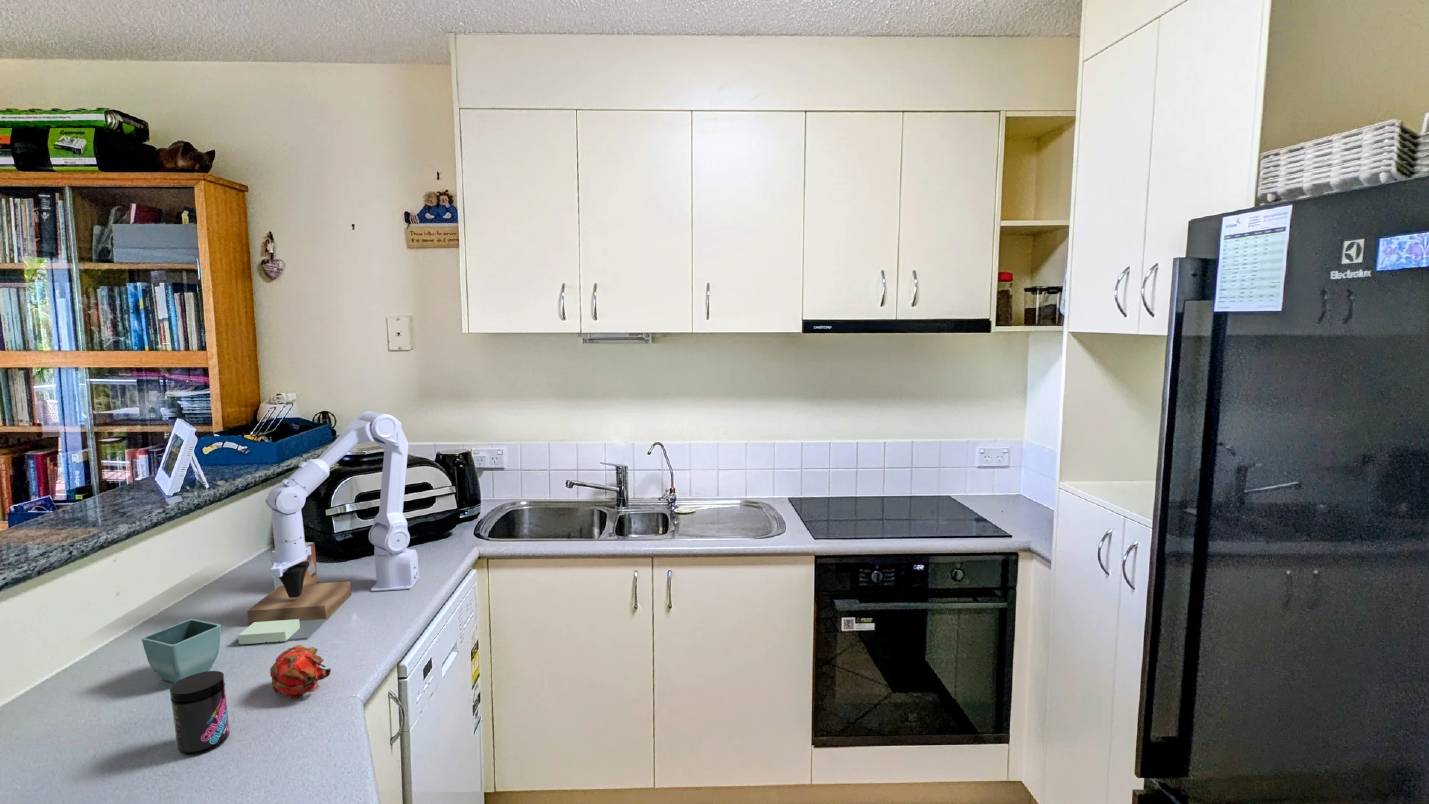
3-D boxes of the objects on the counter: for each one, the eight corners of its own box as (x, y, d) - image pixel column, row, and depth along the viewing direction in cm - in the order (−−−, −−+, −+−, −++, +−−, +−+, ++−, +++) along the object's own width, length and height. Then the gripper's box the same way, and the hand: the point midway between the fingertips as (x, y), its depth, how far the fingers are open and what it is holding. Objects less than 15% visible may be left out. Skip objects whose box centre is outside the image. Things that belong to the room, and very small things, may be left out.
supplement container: (193, 762, 101) (186, 697, 99) (167, 751, 103) (159, 688, 102) (240, 736, 107) (233, 675, 106) (214, 727, 110) (207, 667, 108)
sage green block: (285, 631, 138) (286, 641, 138) (299, 619, 144) (299, 627, 144) (238, 635, 137) (239, 644, 137) (254, 622, 143) (255, 631, 143)
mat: (326, 620, 148) (326, 618, 148) (307, 639, 140) (307, 637, 140) (258, 625, 147) (258, 623, 146) (235, 644, 138) (234, 642, 138)
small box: (293, 594, 163) (289, 552, 162) (274, 592, 165) (270, 551, 163) (318, 581, 171) (315, 542, 170) (300, 580, 172) (296, 540, 171)
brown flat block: (351, 595, 162) (350, 581, 162) (326, 620, 148) (325, 605, 148) (280, 599, 160) (279, 585, 160) (248, 625, 146) (247, 610, 146)
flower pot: (227, 668, 128) (222, 624, 127) (177, 692, 120) (172, 645, 119) (195, 661, 131) (190, 618, 130) (145, 684, 123) (139, 638, 122)
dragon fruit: (291, 684, 125) (317, 716, 118) (247, 676, 119) (271, 709, 111) (319, 642, 127) (346, 670, 120) (277, 631, 121) (303, 661, 114)
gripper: (286, 529, 156) (291, 584, 157) (252, 550, 141) (258, 611, 143) (318, 527, 157) (323, 582, 158) (288, 548, 142) (294, 608, 144)
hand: (295, 596), depth 151 cm, fingers closed
